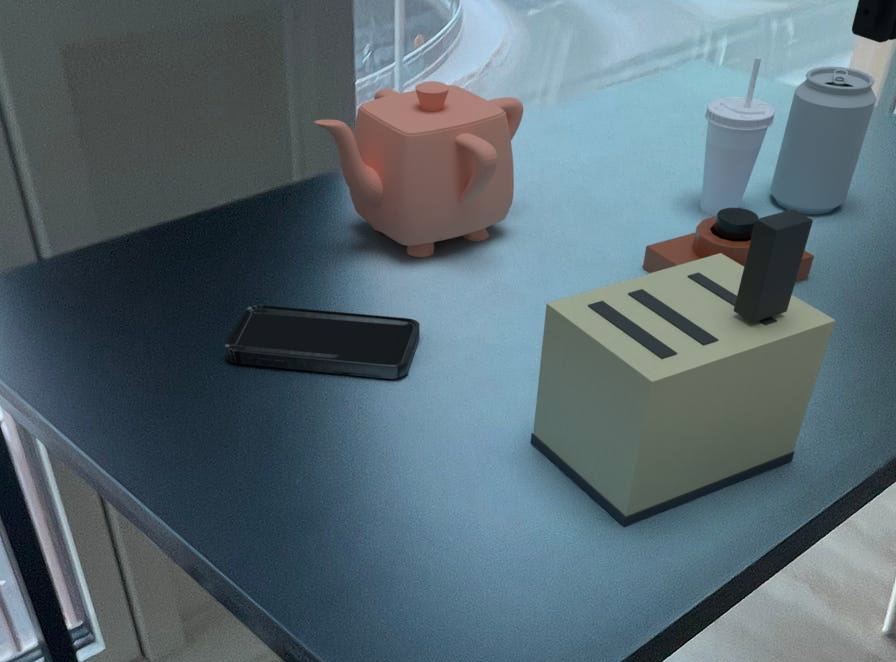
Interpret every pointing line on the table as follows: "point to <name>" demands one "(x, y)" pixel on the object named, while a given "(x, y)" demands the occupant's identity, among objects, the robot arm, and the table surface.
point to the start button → (735, 224)
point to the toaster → (672, 386)
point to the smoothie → (732, 146)
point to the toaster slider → (772, 265)
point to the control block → (704, 250)
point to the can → (823, 139)
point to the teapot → (430, 163)
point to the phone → (324, 341)
